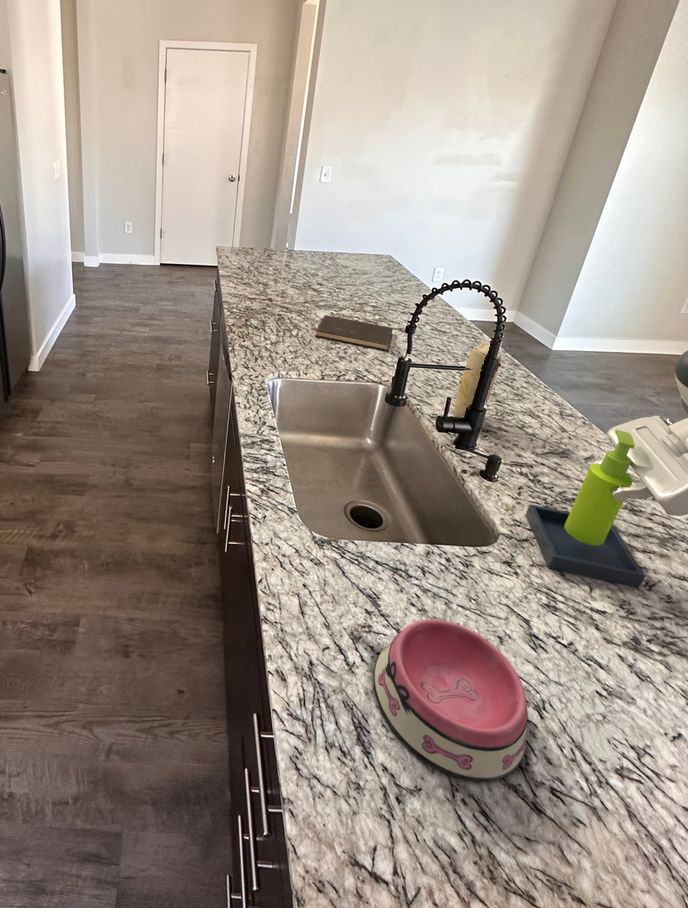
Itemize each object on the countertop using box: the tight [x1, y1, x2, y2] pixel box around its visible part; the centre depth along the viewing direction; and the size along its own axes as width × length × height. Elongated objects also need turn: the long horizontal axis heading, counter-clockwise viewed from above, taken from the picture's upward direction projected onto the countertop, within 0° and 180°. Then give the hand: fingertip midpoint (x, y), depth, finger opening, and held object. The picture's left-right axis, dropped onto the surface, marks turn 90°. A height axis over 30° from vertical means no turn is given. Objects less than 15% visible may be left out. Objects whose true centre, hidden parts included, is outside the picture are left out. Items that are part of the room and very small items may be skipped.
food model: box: [453, 342, 502, 418], centre depth 132 cm, size 10×7×20 cm
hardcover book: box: [314, 314, 394, 352], centre depth 181 cm, size 16×23×2 cm
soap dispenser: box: [564, 429, 635, 546], centre depth 92 cm, size 6×7×20 cm
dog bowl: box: [372, 618, 529, 782], centre depth 70 cm, size 18×19×7 cm
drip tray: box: [525, 503, 646, 589], centre depth 97 cm, size 14×14×3 cm
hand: (604, 482), depth 91 cm, fingers closed on soap dispenser, 6 cm apart
